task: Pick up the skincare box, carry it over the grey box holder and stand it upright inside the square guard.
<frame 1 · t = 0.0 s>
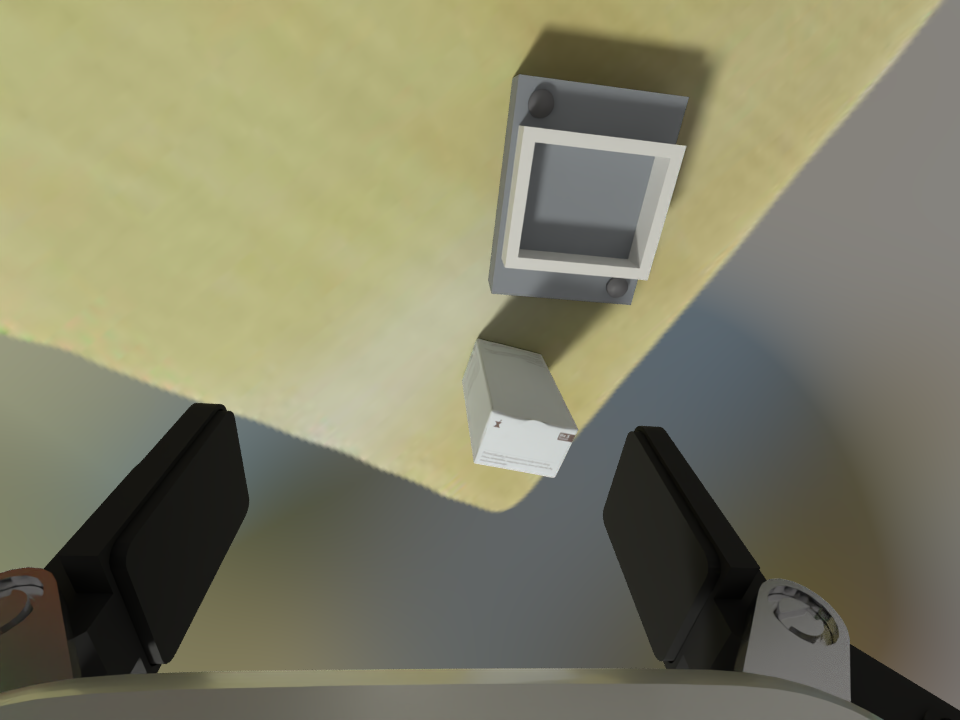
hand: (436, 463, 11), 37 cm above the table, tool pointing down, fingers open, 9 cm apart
grey box holder: (570, 196, 44), on the table
skincare box: (503, 365, 52), on the table
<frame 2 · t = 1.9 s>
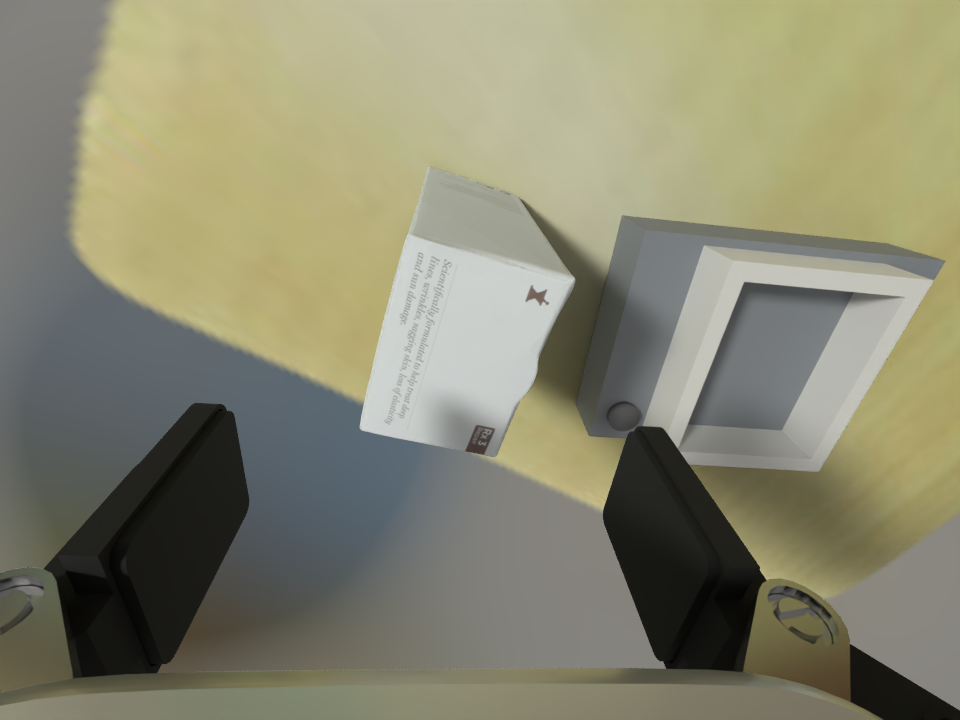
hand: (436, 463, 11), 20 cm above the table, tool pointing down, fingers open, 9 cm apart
grey box holder: (719, 329, 32), on the table
skincare box: (457, 247, 29), on the table
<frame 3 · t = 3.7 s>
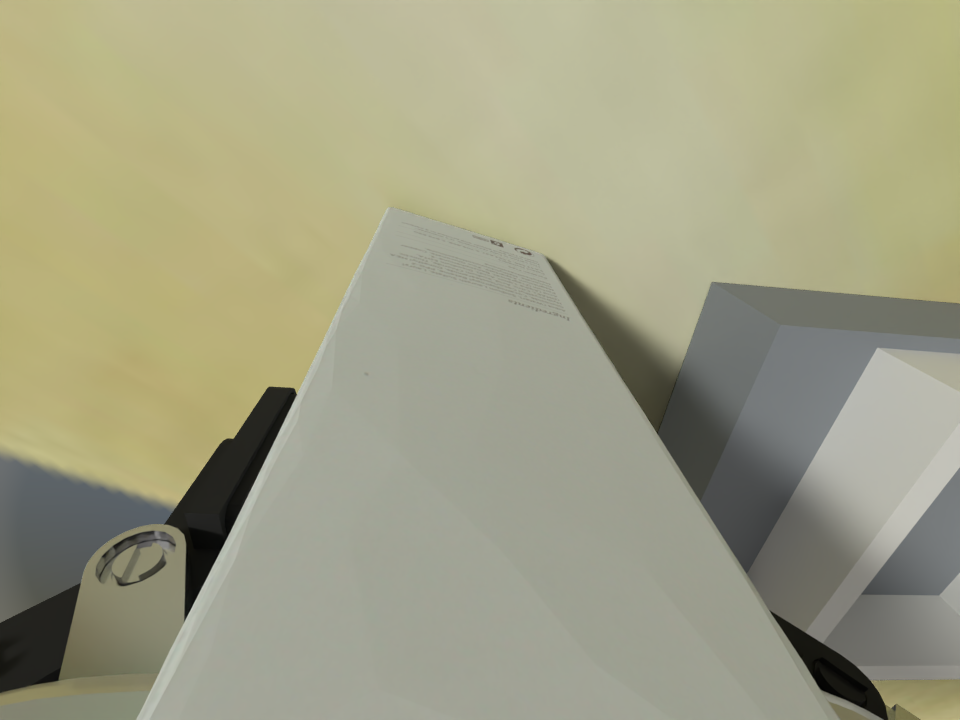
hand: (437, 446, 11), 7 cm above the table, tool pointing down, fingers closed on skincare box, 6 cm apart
grey box holder: (840, 440, 21), on the table
skincare box: (441, 332, 18), on the table, touching gripper
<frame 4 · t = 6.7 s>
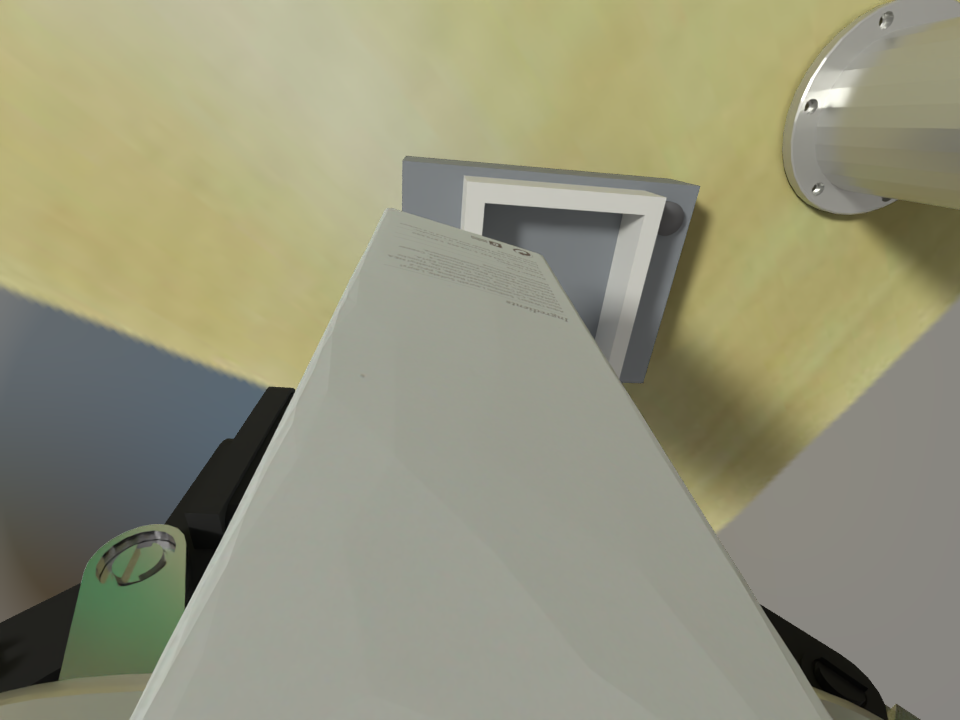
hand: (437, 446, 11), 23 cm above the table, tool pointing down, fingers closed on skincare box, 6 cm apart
grey box holder: (528, 270, 33), on the table
skincare box: (440, 333, 18), point 16 cm above the table, touching gripper
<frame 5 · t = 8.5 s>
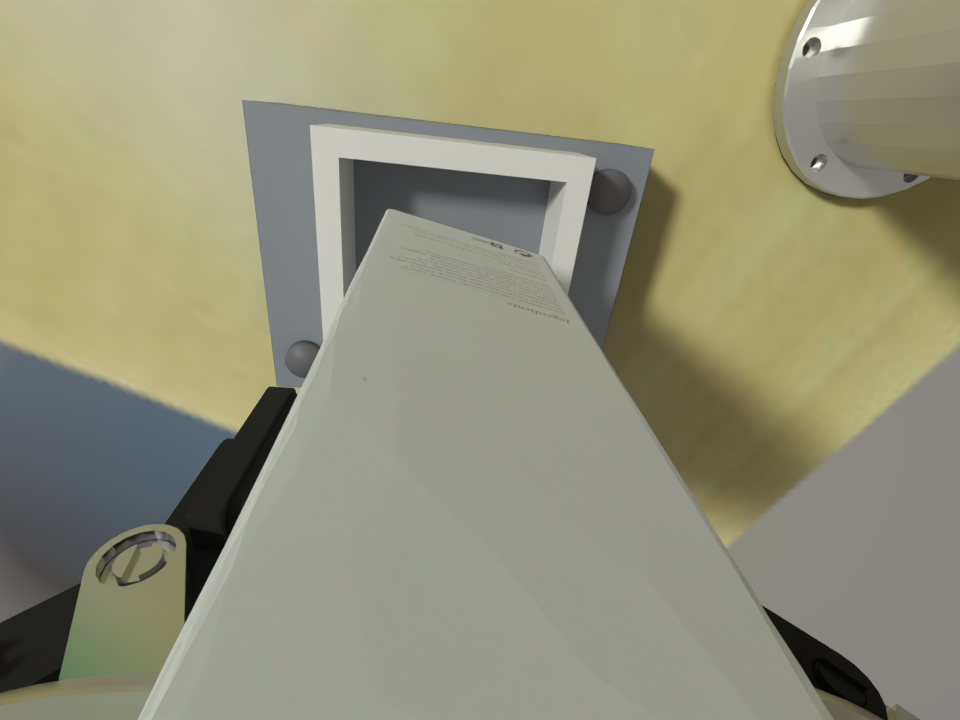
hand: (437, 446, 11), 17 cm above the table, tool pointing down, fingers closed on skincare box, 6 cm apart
grey box holder: (446, 258, 27), on the table
skincare box: (441, 334, 18), point 10 cm above the table, touching gripper
when the fingers open (12 cm above the table, at t = 9.9 s): skincare box drops 1 cm, resting on grey box holder.
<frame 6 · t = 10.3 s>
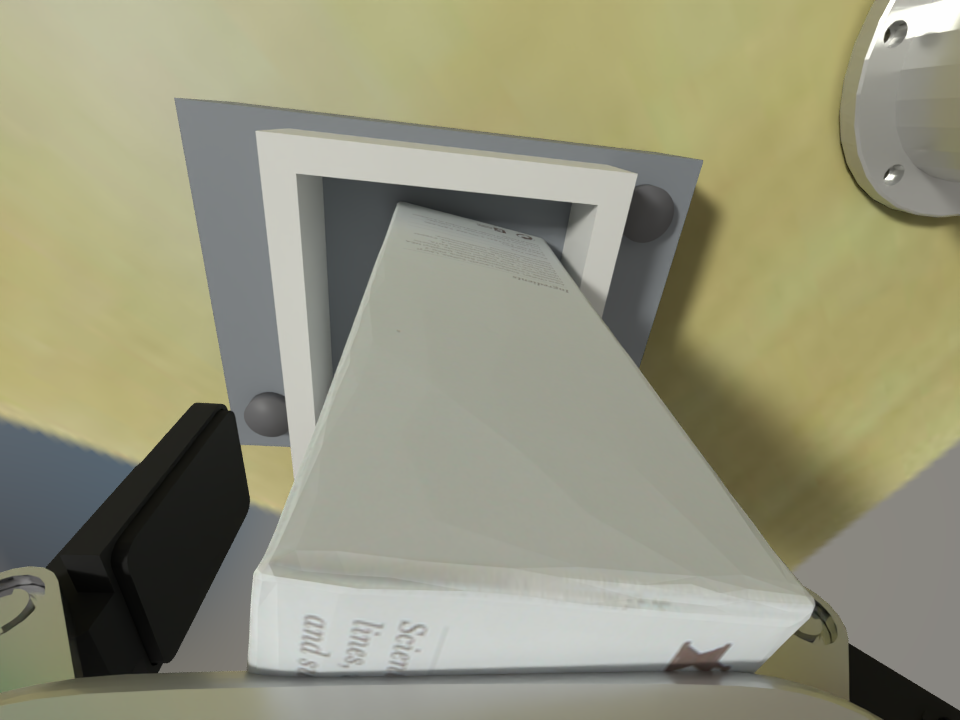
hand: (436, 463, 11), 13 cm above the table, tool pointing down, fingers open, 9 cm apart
grey box holder: (442, 287, 22), on the table
skincare box: (451, 317, 19), point 4 cm above the table, touching grey box holder
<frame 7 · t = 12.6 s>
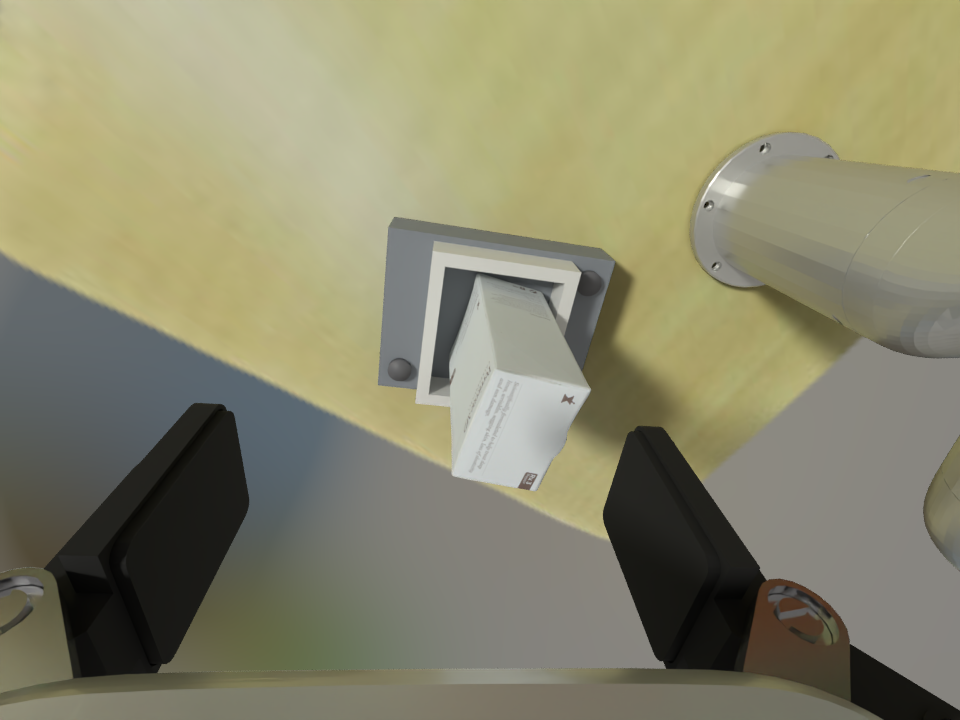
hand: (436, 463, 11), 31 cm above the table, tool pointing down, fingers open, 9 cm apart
grey box holder: (487, 309, 42), on the table
skincare box: (495, 325, 39), point 4 cm above the table, touching grey box holder
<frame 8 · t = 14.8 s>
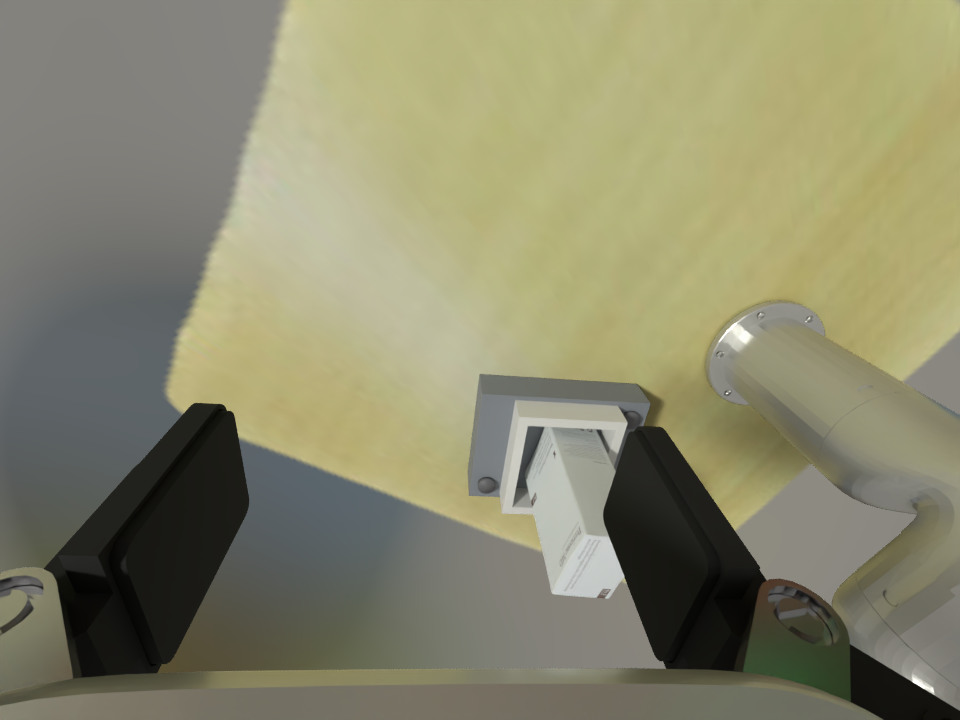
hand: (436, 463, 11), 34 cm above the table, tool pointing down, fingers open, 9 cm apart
grey box holder: (548, 429, 54), on the table
skincare box: (559, 450, 50), point 4 cm above the table, touching grey box holder
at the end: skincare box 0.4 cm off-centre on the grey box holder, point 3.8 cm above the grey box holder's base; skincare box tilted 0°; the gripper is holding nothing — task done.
